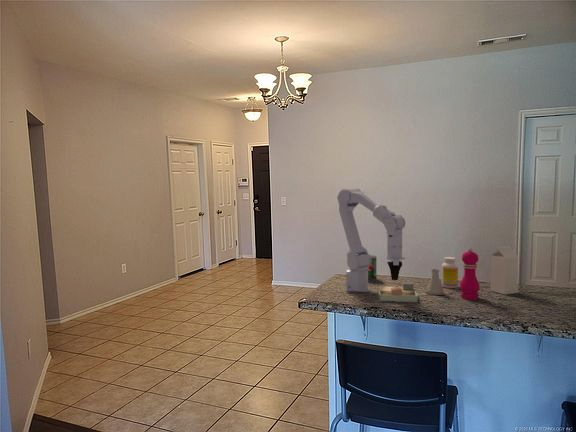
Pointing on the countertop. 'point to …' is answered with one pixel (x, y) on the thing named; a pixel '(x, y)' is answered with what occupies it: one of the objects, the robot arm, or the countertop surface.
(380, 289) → the birch plate
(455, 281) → the supplement bottle
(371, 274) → the canned tomato
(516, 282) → the milk carton
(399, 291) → the terracotta tile
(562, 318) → the countertop surface
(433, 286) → the flask
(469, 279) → the pepper mill
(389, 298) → the box
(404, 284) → the slate tile
